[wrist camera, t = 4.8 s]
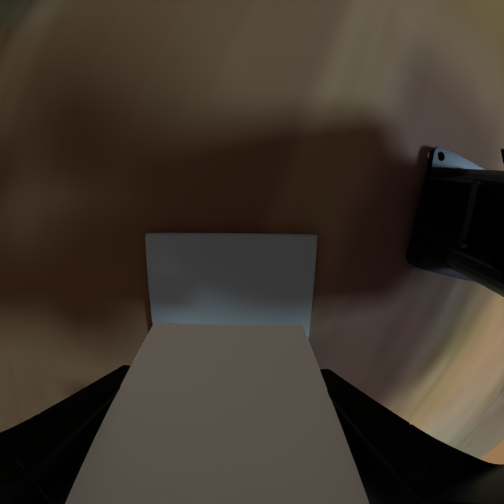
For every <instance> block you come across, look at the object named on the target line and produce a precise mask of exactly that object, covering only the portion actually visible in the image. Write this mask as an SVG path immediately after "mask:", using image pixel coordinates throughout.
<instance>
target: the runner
mask: <svg viewBox="0 0 504 504" xmlns="http://www.w3.org/2000/svg"><path fill="white" fill-rule="evenodd" d="M145 244H146V260H147V274H148V286H149V297H150V306H151V316H152V324H154V322H157V323H177V324H204V325H303V328H304V331H305V333H306V336H307V338H308V340H309V330H310V321H311V311H312V301H313V289H314V278H315V265H316V251H317V235H316V234H261V233H146V234H145Z"/></svg>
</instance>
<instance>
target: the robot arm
mask: <svg viewBox="0 0 504 504" xmlns="http://www.w3.org/2000/svg"><path fill="white" fill-rule="evenodd" d="M438 153H439V154H440V157H441V158H440V160H439V159H438ZM501 153H502V158H503V163H504V149H501ZM416 253H417V254H418V256H417V258H416V259H415V260H414V255H415V254H416ZM406 259H407V262H408V263H409V264H411V265H412V266H414V267H418V268H422V269H426V270H430V271H434V272H438V273H442V274H446V275H451V276H455V277H459V278H463V279H466V280H470V281H474V282H477V283H479V284H481V285H483V286H485V287H487V288H488V289H490V290H492V291H494V292H496V293H497V294H499V295H501V296H503V297H504V171H497V170H484V169H483V168H481V167H479V166H477V165H476V164H474V163H472V162H470V161H468V160H466V159H464V158H462V157H461V156H459V155H457V154H455V153H453V152H451V151H449V150H447V149H445V148H443V147H435V148H433V149H432V150H431V152H430V156H429V162H428V167H427V173H426V178H425V179H424V181H423V186H422V191H421V195H420V200H419V204H418V208H417V212H416V216H415V220H414V229H413V233H412V237H411V240H410V244H409V247H408V251H407V255H406ZM129 368H130V366H129V365H123V366H121V367H119V368H118V369H116V370H114V371H113V372H111V373H109V374H108V375H106V376H104V377H102V378H101V379H99V380H97V381H96V382H94V383H92V384H90V385H89V386H87V387H85V388H83V389H82V390H80V391H78V392H76V393H75V394H73V395H71V396H69V397H68V398H66V399H64V400H62V401H61V402H59V403H57V404H55V405H54V406H52V407H50V408H48V409H46V410H45V411H43V412H41V413H40V414H37V415H35V416H34V417H32V418H30V419H28V420H26V421H24V422H22V423H20V424H18V425H16V426H14V427H12V428H10V429H8V430H5V431H3V432H1V433H0V504H65V503H66V500H67V498H68V496H69V493H70V491H71V489H72V486H73V484H74V482H75V480H76V477H77V475H78V473H79V471H80V468H81V466H82V464H83V462H84V460H85V457H86V455H87V453H88V451H89V449H90V447H91V445H92V443H93V440H94V438H95V436H96V434H97V432H98V430H99V428H100V426H101V424H102V422H103V420H104V418H105V416H106V414H107V412H108V410H109V408H110V405H111V404H112V402H113V400H114V398H115V396H116V394H117V392H118V391H119V389H120V386H121V384H122V382H123V380H124V378H125V376H126V374H127V372H128V370H129ZM320 372H321V374H322V377H323V379H324V382H325V385H326V387H327V391H328V395H329V397H330V399H331V400H332V403H333V406H334V408H335V411H336V414H337V416H338V419H339V421H340V424H341V427H342V430H343V432H344V435H345V438H346V440H347V443H348V446H349V448H350V451H351V454H352V457H353V459H354V462H355V465H356V468H357V470H358V473H359V476H360V479H361V481H362V484H363V487H364V490H365V492H366V495H367V498H368V501H369V504H504V465H498V464H492V463H488V462H485V461H482V460H480V459H478V458H476V457H473V456H471V455H469V454H466V453H464V452H462V451H460V450H458V449H455V448H453V447H451V446H449V445H447V444H445V443H443V442H441V441H439V440H437V439H435V438H433V437H432V436H430V435H428V434H427V433H425V432H423V431H422V430H420V429H418V428H417V427H415V426H414V425H412V424H411V425H410V423H409V422H407V421H406V420H404V419H402V418H401V417H399V416H398V415H396V414H395V413H393V412H392V411H390V410H389V409H387V408H386V407H384V406H383V405H381V404H380V403H378V402H376V401H375V400H373V399H372V398H371V397H369V396H368V395H366V394H365V393H363V392H362V391H360V390H359V389H357V388H356V387H354V386H353V385H351V384H350V383H348V382H347V381H346V380H344V379H343V378H341V377H340V376H338V375H337V374H335V373H334V372H333V371H331V370H329V369H320Z"/></svg>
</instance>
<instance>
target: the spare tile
mask: <svg viewBox="0 0 504 504" xmlns="http://www.w3.org/2000/svg"><path fill="white" fill-rule="evenodd" d="M65 504H369V501H368V498H367V495H366V492H365V490H364V487H363V484H362V481H361V479H360V476H359V473H358V470H357V468H356V465H355V462H354V459H353V457H352V454H351V451H350V448H349V446H348V443H347V440H346V438H345V435H344V432H343V430H342V427H341V424H340V421H339V419H338V416H337V414H336V411H335V408H334V406H333V403H332V400H331V399H330V397H329V395H328V391H327V387H326V385H325V382H324V379H323V377H322V374H321V372H320V369H319V366H318V364H317V361H316V359H315V356H314V353H313V351H312V348H311V346H310V343H309V341H308V338H307V336H306V333H305V331H304V328H303V325H204V324H177V323H157V322H154V324H153V326H152V327H151V329H150V331H149V333H148V335H147V337H146V338H145V340H144V342H143V344H142V346H141V348H140V350H139V351H138V353H137V355H136V357H135V359H134V361H133V363H132V365H131V366H130V368H129V370H128V372H127V374H126V376H125V378H124V380H123V382H122V384H121V386H120V389H119V391H118V392H117V394H116V396H115V398H114V400H113V402H112V404H111V405H110V408H109V410H108V412H107V414H106V416H105V418H104V420H103V422H102V424H101V426H100V428H99V430H98V432H97V434H96V436H95V438H94V440H93V443H92V445H91V447H90V449H89V451H88V453H87V455H86V457H85V460H84V462H83V464H82V466H81V468H80V471H79V473H78V475H77V477H76V480H75V482H74V484H73V486H72V489H71V491H70V493H69V496H68V498H67V500H66V503H65Z"/></svg>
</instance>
